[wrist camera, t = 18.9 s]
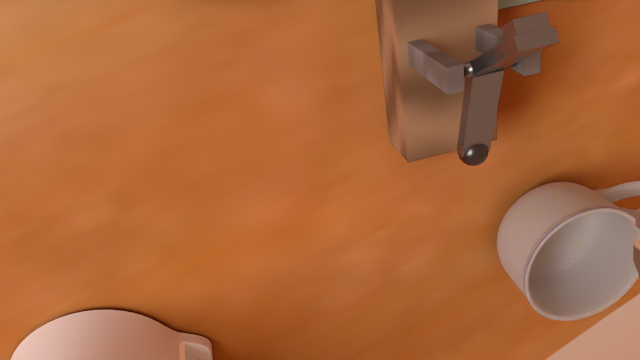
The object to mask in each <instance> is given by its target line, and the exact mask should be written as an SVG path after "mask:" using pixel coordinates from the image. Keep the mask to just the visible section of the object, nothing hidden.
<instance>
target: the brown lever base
mask: <svg viewBox="0 0 640 360" xmlns="http://www.w3.org/2000/svg"><path fill="white" fill-rule="evenodd" d="M375 1H376V11H377V21H378V31H379V41H380V51H381V61H382V71H383V80H384V90H385V100H386V110H387V120H388V130H389V140H390V142H391V143H392V144H393V145H394V147H395V148H396V149H397V150H398V151H399V152H400V153H401V155H402V156H403V157H404V158H405V159H406V160H407V162H408V163H409V162H413V161H417V160H421V159H425V158H428V157H432V156H436V155H440V154H444V153H448V152H452V151H456V150H457V144H458V136H459V128H460V120H461V112H462V104H463V97H464V89H465V81H466V78H465V79H464V64H463V63H465V62H469V61H471V60H473V59H475V58H477V57H478V56H480V55H482V54H483V53H485V52H487V51H489V50H490V49H492V48H494V47H496V46H497V45H499V44H501V43H502V42H504V41H505V39H504V35H503V31H502V29H501V28H499V27H498V0H375ZM510 69H512V70H514V71H516V72H518V73H520V74H522V75H523V76H528V75H532V74H536V73H540V71H541V51H540V52H538V53H536V54H533V55H531V56H529V57H527V58H525V59H523V60H521V61H519V62H517V64H516V66H515V67H511V68H510ZM494 140H497V113H496V119H495V124H494V130H493V135H492V141H494Z"/></svg>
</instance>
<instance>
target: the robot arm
mask: <svg viewBox="0 0 640 360" xmlns="http://www.w3.org/2000/svg"><path fill="white" fill-rule="evenodd" d="M635 226H636V227H637V228H638V229H639V230H640V208H639V209H638V211H637V213H636V220H635ZM633 262H634V264H635V267H636V269H637V272H638V274H639V276H640V236H639V237H638V239H637V241H636V242H635V244H634V245H633ZM11 360H213V356H212V345H211V342H210V341H209V340H208V339H207V338H205V337H202V336H198V335H194V334H188V333H181V332H176V331H174V330H172V329H170V328H168V327H166V326H164V325H162V324H161V323H159V322H157V321H155V320H153V319H151V318H148V317H146V316H143V315H140V314H136V313H132V312H127V311H120V310H90V311H83V312H78V313H73V314H69V315H66V316H63V317H60V318H58V319H55V320H53V321H51V322H49V323H47V324H45V325H43V326H41V327H40V328H38V329H37V330H35V331H34V332H32V333H31V334H30V335H29V336H28V337H26V338H25V339H24V340H23V341H22V343H21V344H20V345H19V346H18V348H17V349H16V350H15V352H14V354H13V356H12V358H11Z"/></svg>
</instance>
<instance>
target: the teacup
mask: <svg viewBox="0 0 640 360" xmlns="http://www.w3.org/2000/svg"><path fill="white" fill-rule="evenodd" d="M633 196H640V181H632V182H626V183H622V184H618V185H615V186H612V187H609V188H606V189H595V190H591V189H589V188H587V187H585V186H582V185H580V184H577V183H572V182H553V183H548V184H544V185H541V186H539V187H536V188H534V189H532V190H530V191H529V192H527V193H526V194H524V195H523V196H521V197H520V198H519V199H518V200H517V201H516V202H515V203H514V204H513V205H512V206H511V207H510V209H509V210H508V211H507V213H506V214H505V216H504V218H503V219H502V221H501V224H500V227H499V230H498V235H497V252H498V256H499V259H500V262H501V264H502V266H503V268H504V269H505V271H506V272H507V274H508V275H509V277H510V278H511V279H512V281H513V282H514V283H515V285H516V286H517V287H518V288H519V290H520V291H521V292H522V293H523V294H524V295H525V297H526V298H527V300H528V302H529V303H530V305H531V306H532V307H533V308H534V309H535V310H536V311H537V312H538V313H539V314H541V315H542V316H544V317H547V318H549V319H552V320H559V321H572V320H579V319H583V318H586V317H590V316H592V315H595V314H597V313H599V312H602V311H603V310H605V309H607V308H608V307H610V306H611V305H613V304H614V303H615V302H617V301H618V300H619V299H620V298H621V297H622V296H623V295H625V294H626V293H627V292H628V291H629V289H630V288H631V287H632V286H633V285H634V283H635V282H636V281H637V279H638V277H639V274H638V272H637V269H636V267H635V264H634V262H633V245H634V244H635V242H636V241H637V239H638V237H639V236H640V230H639V229H638V228H637V227H636V226H635V220H636V213H637V211H638V209H637V210H634V209H628V208H625V207H617V206H616V205H615V204H613V202H615V201H618V200H621V199H624V198H628V197H633Z"/></svg>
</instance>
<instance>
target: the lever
mask: <svg viewBox="0 0 640 360" xmlns="http://www.w3.org/2000/svg"><path fill="white" fill-rule="evenodd" d="M502 31H503V35H504V39H505V41H504V42H502V43H501V44H499V45H497V46H496V47H494V48H492V49H490V50H489V51H487V52H485V53H483V54H482V55H480V56H478V57H477V58H475V59H473V60H471V61H469V62H465V63H463V64H464V79H465V78H466V81H465V89H464V97H463V104H462V112H461V120H460V128H459V136H458V144H457V151H458V155H459V158H460V159H461V161H462V162H463V163H465V164H467V165H471V166H475V165H479V164H481V163H483V162H484V161H485V160H486V158H487V156H488V152H489V151H490V146H491V141H492V135H493V130H494V124H495V119H496V113H497V108H498V102H499V97H500V92H501V86H502V81H503V75H504V69H507V68H511V67H515V66H516V64H517V62H519V61H521V60H523V59H525V58H527V57H529V56H531V55H533V54H536V53H538V52H540V51H542V50H544V49H546V48H548V47H550V46H552V45H554V44H556V43H559V40H558V36H557V32H556V28H555V26H554V27H550V24H549V20H548V16H547V12H543V13H539V14H534V15H530V16H526V17H521V18H517V19H513V20H511V21H509V22H508V23H506V24H505V25H503V26H502Z"/></svg>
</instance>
